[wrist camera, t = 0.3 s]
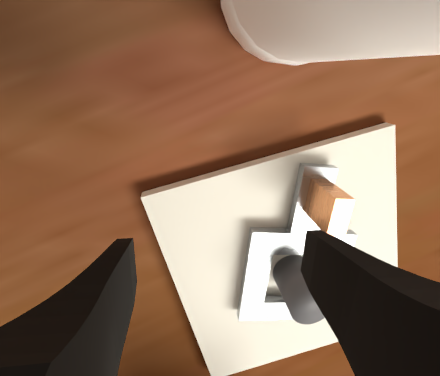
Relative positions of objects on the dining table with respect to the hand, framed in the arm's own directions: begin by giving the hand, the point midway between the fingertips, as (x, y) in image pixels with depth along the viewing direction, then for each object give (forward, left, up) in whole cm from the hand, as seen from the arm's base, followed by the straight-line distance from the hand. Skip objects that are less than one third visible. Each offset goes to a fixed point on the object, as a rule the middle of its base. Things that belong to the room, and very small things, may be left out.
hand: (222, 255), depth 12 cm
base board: (-9, -5, -10) cm, 14 cm away
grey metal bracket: (-7, -5, -8) cm, 12 cm away
